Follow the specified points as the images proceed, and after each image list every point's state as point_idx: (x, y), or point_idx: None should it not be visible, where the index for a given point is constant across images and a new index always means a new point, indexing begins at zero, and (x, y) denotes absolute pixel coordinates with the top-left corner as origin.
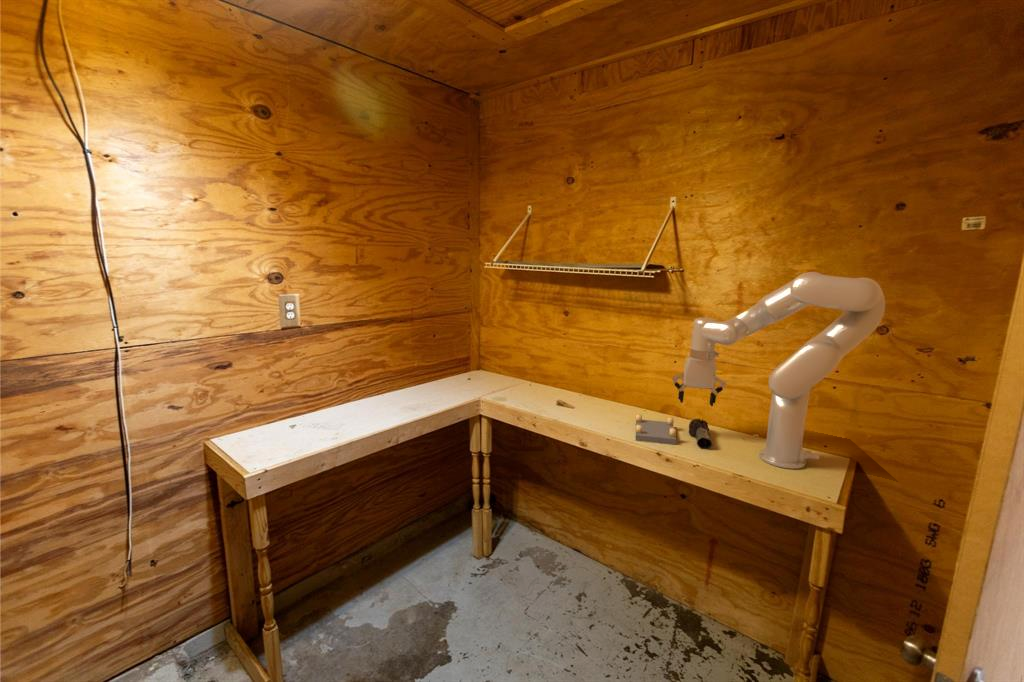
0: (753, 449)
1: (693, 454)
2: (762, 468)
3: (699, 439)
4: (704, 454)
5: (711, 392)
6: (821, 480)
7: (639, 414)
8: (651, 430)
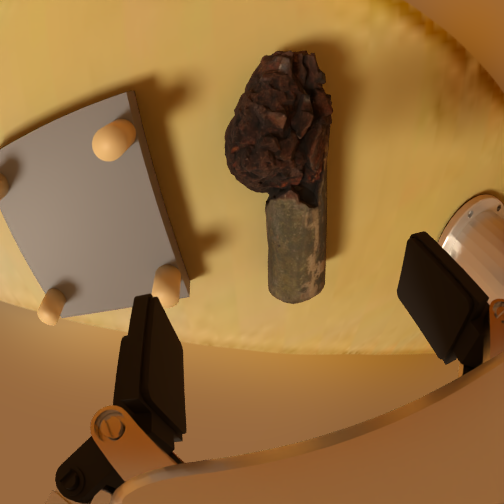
0: (440, 199)
1: (256, 318)
2: None
3: (280, 297)
4: (289, 304)
5: (475, 310)
6: None
7: None
8: (76, 258)
